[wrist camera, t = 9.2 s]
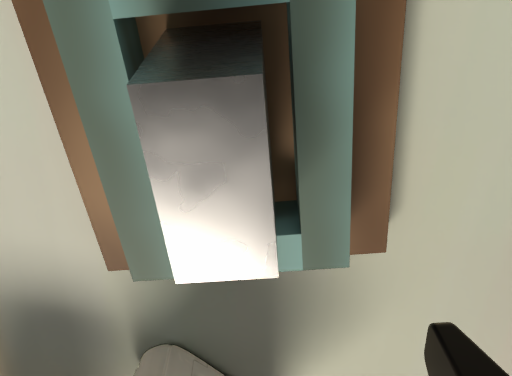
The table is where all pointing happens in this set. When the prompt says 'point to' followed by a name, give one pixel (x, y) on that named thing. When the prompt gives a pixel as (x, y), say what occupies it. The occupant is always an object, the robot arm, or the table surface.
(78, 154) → the well board
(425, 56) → the table surface
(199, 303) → the table surface
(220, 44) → the silver metal block
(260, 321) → the table surface
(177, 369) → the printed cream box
